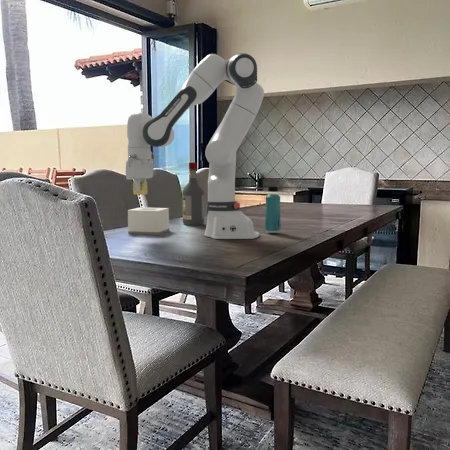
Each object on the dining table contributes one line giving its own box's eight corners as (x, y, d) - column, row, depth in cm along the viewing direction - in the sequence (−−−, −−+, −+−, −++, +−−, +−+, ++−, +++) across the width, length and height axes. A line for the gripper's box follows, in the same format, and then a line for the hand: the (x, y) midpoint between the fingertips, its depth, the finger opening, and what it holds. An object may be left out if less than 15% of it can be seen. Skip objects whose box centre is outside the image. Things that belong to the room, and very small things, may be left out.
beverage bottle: (279, 234, 186) (280, 186, 183) (263, 234, 187) (264, 186, 184) (281, 232, 192) (281, 185, 189) (265, 232, 194) (266, 185, 191)
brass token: (147, 194, 179) (147, 181, 178) (145, 194, 177) (144, 181, 176) (135, 194, 180) (135, 181, 179) (133, 194, 178) (132, 181, 177)
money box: (169, 230, 199) (168, 208, 197) (159, 234, 187) (158, 210, 186) (139, 229, 202) (139, 207, 200) (128, 233, 190) (127, 210, 189)
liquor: (198, 222, 225) (198, 162, 220) (205, 224, 216) (205, 162, 212) (181, 223, 221) (180, 162, 217) (187, 226, 213) (186, 162, 208)
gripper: (136, 154, 165) (137, 192, 167) (155, 155, 185) (156, 188, 187) (120, 154, 167) (122, 191, 169) (141, 155, 187) (142, 188, 188)
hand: (140, 190), depth 178 cm, fingers closed on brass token, 2 cm apart
